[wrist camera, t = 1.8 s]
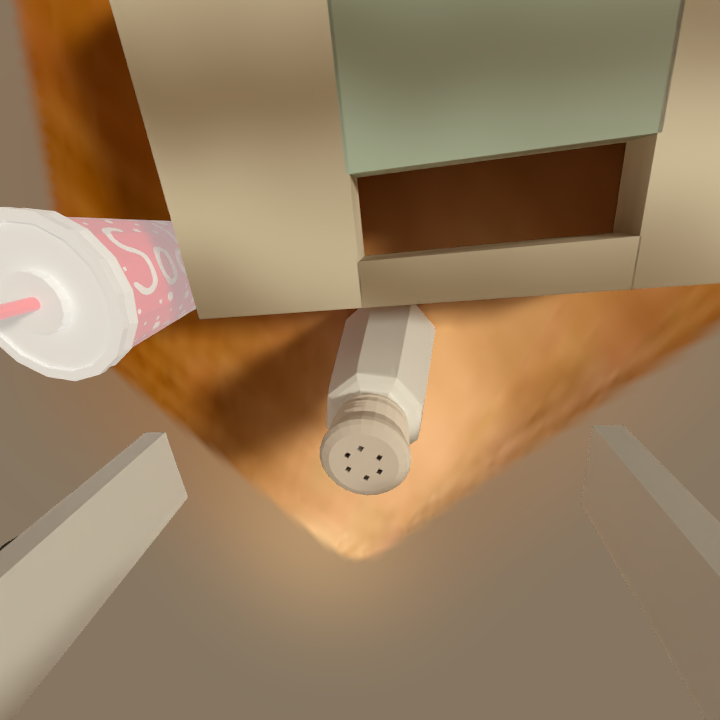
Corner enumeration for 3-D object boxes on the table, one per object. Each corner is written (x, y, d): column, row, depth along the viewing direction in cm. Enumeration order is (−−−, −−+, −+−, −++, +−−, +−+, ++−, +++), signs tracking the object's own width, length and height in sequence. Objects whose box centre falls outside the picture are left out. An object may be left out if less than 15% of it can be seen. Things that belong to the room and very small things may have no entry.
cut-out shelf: (212, -60, 15) (23, -304, 8) (778, -208, 12) (1368, -880, 4) (276, 278, 20) (199, 319, 13) (681, 243, 17) (879, 272, 10)
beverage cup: (249, 312, 21) (5, 469, 9) (156, 318, 23) (-183, 467, 10) (223, 199, 19) (-158, 188, 6) (121, 212, 20) (-382, 225, 7)
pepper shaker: (327, 356, 22) (253, 485, 12) (367, 275, 20) (316, 348, 10) (407, 397, 22) (400, 555, 12) (455, 321, 20) (495, 438, 10)
